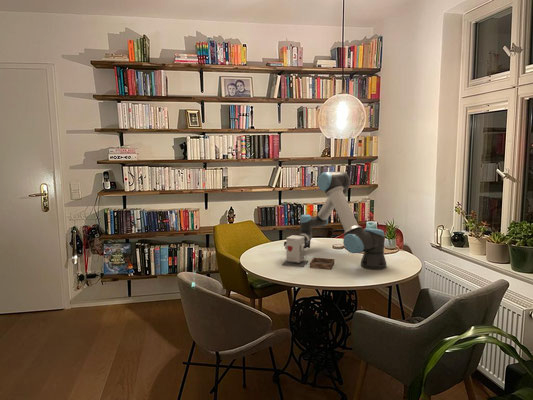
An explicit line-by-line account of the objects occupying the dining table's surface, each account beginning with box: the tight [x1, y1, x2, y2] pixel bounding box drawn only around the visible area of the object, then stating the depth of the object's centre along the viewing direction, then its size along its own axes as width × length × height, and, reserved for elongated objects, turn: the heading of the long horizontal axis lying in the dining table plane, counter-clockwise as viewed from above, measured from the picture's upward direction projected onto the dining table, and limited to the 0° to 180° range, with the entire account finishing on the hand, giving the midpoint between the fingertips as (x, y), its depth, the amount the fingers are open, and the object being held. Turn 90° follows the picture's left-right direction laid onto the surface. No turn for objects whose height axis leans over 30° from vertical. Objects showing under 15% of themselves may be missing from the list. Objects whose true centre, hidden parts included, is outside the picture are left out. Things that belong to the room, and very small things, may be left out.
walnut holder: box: [309, 256, 335, 270], centre depth 231 cm, size 13×13×3 cm
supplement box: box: [285, 234, 305, 263], centre depth 236 cm, size 9×9×15 cm
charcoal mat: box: [281, 259, 310, 268], centre depth 237 cm, size 14×13×1 cm
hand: (293, 247), depth 232 cm, fingers closed on supplement box, 10 cm apart
